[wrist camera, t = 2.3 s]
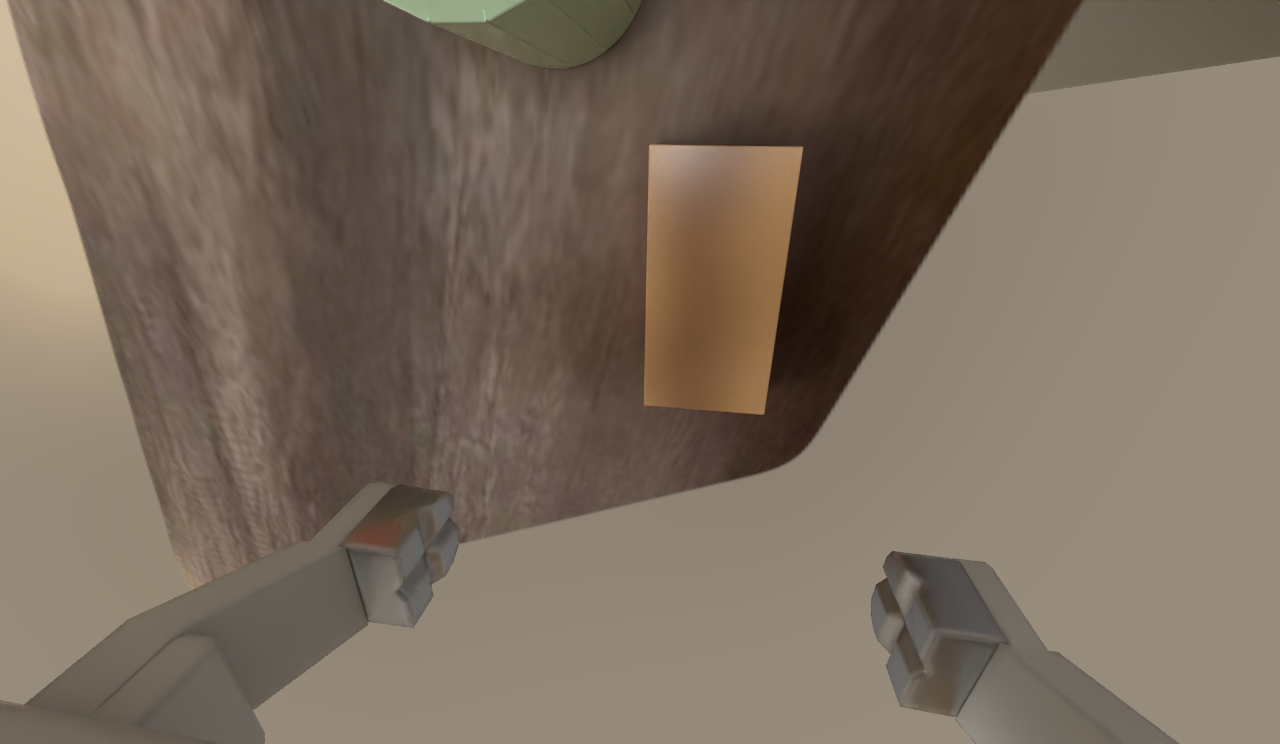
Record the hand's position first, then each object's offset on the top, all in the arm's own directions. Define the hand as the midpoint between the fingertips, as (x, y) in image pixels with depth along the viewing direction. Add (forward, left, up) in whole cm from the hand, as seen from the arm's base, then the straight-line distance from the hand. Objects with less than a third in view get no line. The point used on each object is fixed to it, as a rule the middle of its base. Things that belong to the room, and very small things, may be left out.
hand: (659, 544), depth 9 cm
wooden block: (-1, 0, -19) cm, 19 cm away
